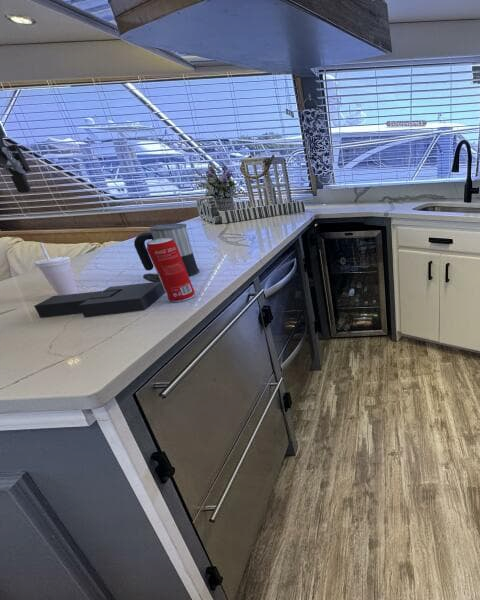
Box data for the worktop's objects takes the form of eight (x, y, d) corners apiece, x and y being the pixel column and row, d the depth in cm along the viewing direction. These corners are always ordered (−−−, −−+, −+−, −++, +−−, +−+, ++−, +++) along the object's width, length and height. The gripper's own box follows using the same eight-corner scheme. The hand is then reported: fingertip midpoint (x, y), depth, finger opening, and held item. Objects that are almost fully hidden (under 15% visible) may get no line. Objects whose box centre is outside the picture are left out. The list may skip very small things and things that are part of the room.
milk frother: (197, 267, 105) (183, 221, 99) (207, 278, 94) (192, 228, 88) (144, 277, 97) (125, 228, 91) (148, 291, 86) (127, 236, 80)
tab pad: (40, 317, 73) (33, 305, 71) (59, 307, 78) (53, 296, 77) (111, 309, 76) (106, 297, 74) (125, 299, 81) (120, 288, 80)
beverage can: (200, 293, 83) (182, 235, 77) (185, 303, 77) (165, 242, 71) (177, 294, 83) (157, 236, 77) (160, 304, 77) (138, 243, 71)
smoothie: (45, 298, 84) (18, 246, 78) (73, 289, 90) (50, 240, 84) (63, 299, 83) (37, 246, 77) (90, 290, 88) (67, 240, 83)
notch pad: (84, 317, 72) (78, 305, 71) (114, 297, 83) (109, 286, 82) (144, 310, 74) (140, 298, 73) (166, 291, 85) (162, 281, 84)
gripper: (-22, 116, 72) (16, 192, 78) (-94, 106, 59) (-42, 198, 65) (19, 116, 73) (52, 190, 80) (-43, 105, 60) (3, 195, 67)
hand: (10, 194), depth 72 cm, fingers open, 8 cm apart
